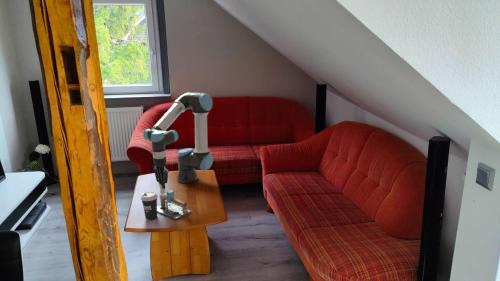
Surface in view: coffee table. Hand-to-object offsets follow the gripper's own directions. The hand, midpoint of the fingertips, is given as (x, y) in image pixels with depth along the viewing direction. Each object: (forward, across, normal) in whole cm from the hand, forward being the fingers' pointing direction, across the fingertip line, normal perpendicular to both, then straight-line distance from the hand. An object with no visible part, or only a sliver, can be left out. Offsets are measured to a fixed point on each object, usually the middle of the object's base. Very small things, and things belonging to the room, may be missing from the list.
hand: (163, 193), depth 228 cm
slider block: (+8, +7, -1) cm, 11 cm away
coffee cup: (+9, +6, -14) cm, 18 cm away
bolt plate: (+9, +9, -2) cm, 13 cm away
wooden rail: (+8, +9, -1) cm, 12 cm away
